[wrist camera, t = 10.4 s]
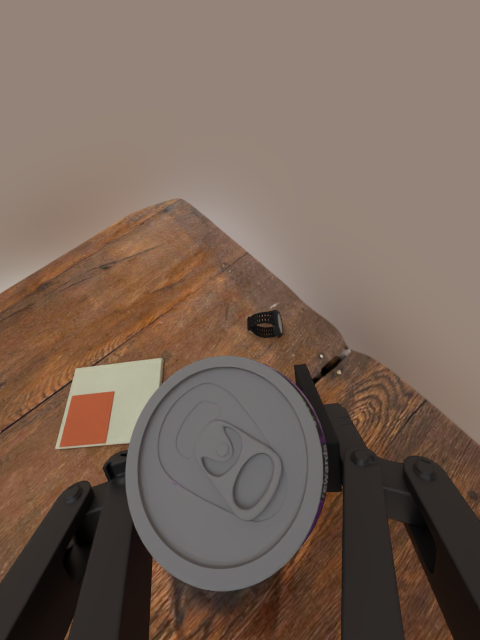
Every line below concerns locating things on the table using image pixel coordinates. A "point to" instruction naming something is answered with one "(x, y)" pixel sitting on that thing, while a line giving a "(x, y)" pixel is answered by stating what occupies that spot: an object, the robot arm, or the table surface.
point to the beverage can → (226, 473)
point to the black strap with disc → (273, 319)
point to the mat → (108, 402)
